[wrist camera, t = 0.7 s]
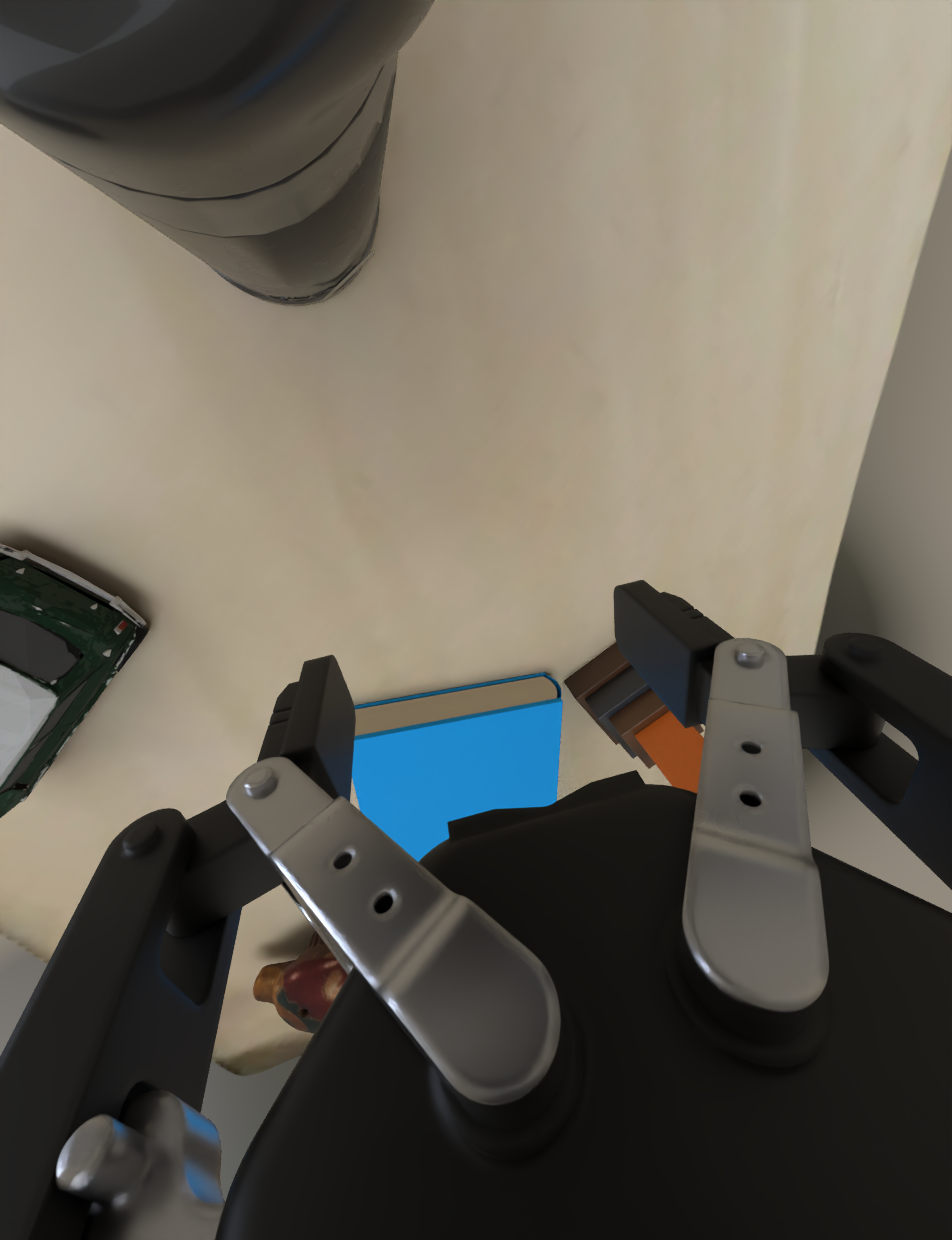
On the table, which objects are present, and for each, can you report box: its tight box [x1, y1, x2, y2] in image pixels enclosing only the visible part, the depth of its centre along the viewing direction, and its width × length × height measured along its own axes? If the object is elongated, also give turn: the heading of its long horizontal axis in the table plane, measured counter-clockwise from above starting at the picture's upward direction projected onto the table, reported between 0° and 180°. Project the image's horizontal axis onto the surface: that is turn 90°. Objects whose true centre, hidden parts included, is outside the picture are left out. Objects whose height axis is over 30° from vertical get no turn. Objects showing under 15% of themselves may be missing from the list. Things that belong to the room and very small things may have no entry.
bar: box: [635, 711, 704, 793], centre depth 31 cm, size 4×4×9 cm
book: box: [352, 672, 563, 862], centre depth 42 cm, size 17×4×25 cm
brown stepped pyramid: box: [564, 642, 704, 768], centre depth 38 cm, size 8×8×7 cm
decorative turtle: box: [253, 932, 348, 1033], centre depth 47 cm, size 10×15×8 cm, turn 88°
